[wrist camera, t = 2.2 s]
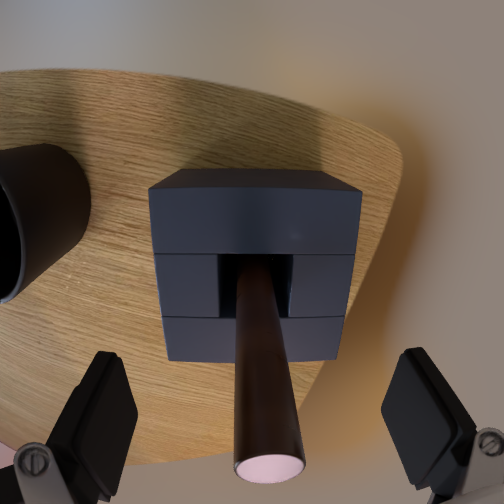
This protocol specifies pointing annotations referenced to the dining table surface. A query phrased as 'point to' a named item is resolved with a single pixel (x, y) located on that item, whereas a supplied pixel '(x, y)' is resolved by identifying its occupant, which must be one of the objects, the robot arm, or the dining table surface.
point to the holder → (253, 242)
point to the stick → (262, 383)
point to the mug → (38, 212)
